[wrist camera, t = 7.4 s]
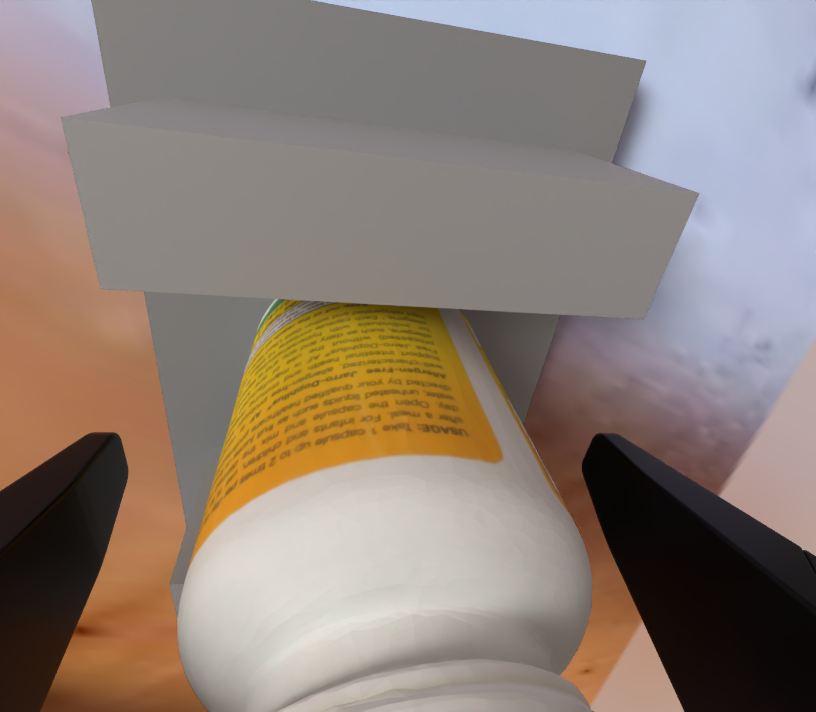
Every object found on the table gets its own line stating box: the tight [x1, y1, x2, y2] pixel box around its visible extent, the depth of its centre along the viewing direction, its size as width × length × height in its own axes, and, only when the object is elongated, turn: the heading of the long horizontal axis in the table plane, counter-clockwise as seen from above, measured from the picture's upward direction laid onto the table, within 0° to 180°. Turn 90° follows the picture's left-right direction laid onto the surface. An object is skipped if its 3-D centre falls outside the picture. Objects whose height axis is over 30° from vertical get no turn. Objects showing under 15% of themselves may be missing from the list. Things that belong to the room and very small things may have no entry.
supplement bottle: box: [177, 299, 594, 712], centre depth 8 cm, size 5×5×10 cm
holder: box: [61, 0, 699, 619], centre depth 10 cm, size 14×10×5 cm
